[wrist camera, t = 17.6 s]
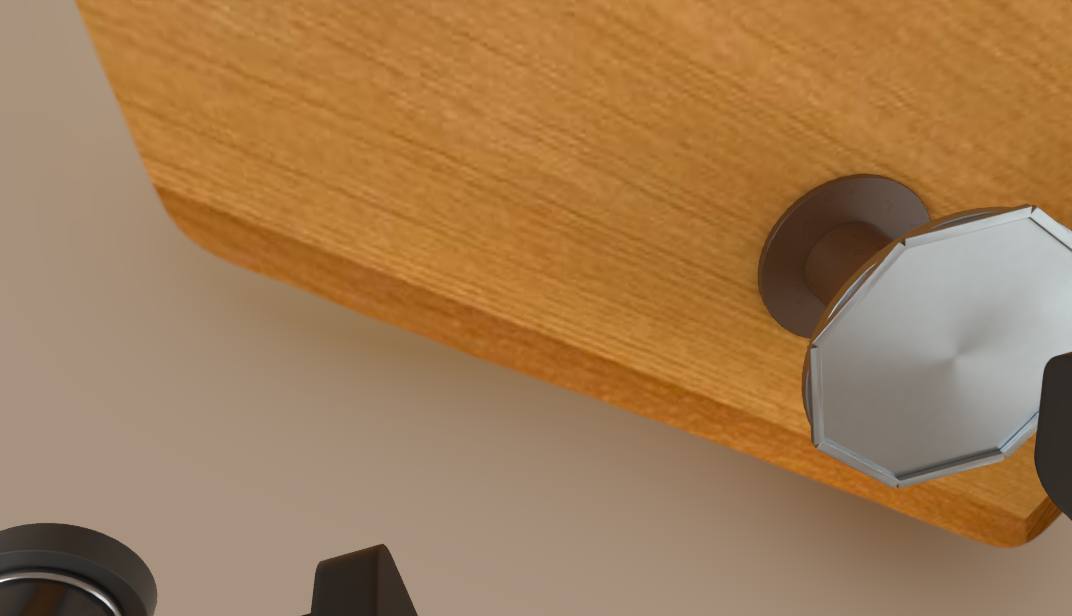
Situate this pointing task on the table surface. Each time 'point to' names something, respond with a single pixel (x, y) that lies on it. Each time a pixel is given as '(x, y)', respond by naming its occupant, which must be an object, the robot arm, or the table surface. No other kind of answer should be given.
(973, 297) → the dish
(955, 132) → the table surface
